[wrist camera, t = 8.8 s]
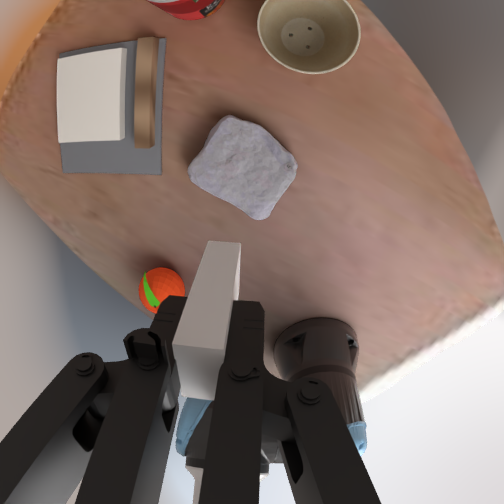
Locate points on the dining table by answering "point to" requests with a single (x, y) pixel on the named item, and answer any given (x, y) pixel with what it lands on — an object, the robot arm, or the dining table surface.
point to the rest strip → (145, 92)
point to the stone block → (243, 166)
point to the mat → (123, 151)
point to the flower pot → (309, 33)
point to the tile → (91, 96)
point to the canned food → (188, 8)
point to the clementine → (159, 287)
